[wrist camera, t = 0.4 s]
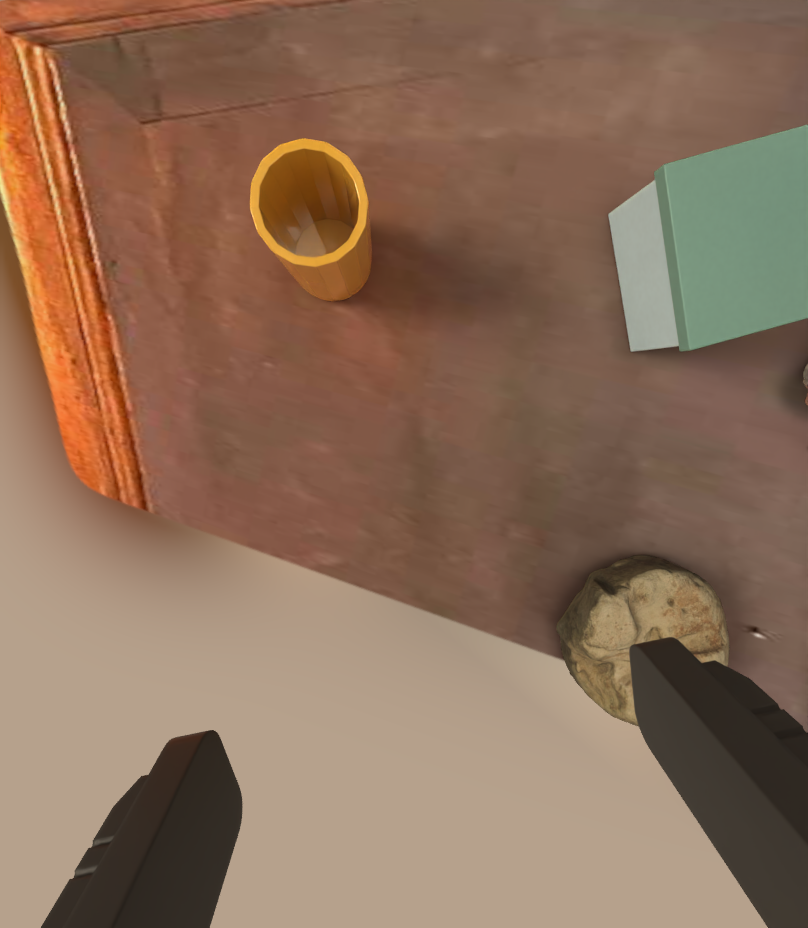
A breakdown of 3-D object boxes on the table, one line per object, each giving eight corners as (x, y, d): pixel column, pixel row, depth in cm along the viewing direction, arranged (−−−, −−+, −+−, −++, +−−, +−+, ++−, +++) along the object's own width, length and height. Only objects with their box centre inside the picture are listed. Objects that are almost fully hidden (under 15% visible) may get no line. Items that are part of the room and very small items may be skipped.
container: (602, 210, 32) (663, 163, 25) (731, 175, 32) (827, 118, 25) (627, 357, 34) (689, 351, 27) (748, 323, 34) (841, 309, 27)
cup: (280, 227, 31) (233, 156, 21) (358, 206, 31) (348, 124, 21) (305, 310, 32) (271, 279, 22) (381, 289, 32) (381, 249, 22)
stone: (573, 710, 39) (602, 759, 34) (537, 578, 37) (562, 610, 32) (714, 665, 39) (765, 708, 34) (688, 530, 37) (738, 554, 32)
